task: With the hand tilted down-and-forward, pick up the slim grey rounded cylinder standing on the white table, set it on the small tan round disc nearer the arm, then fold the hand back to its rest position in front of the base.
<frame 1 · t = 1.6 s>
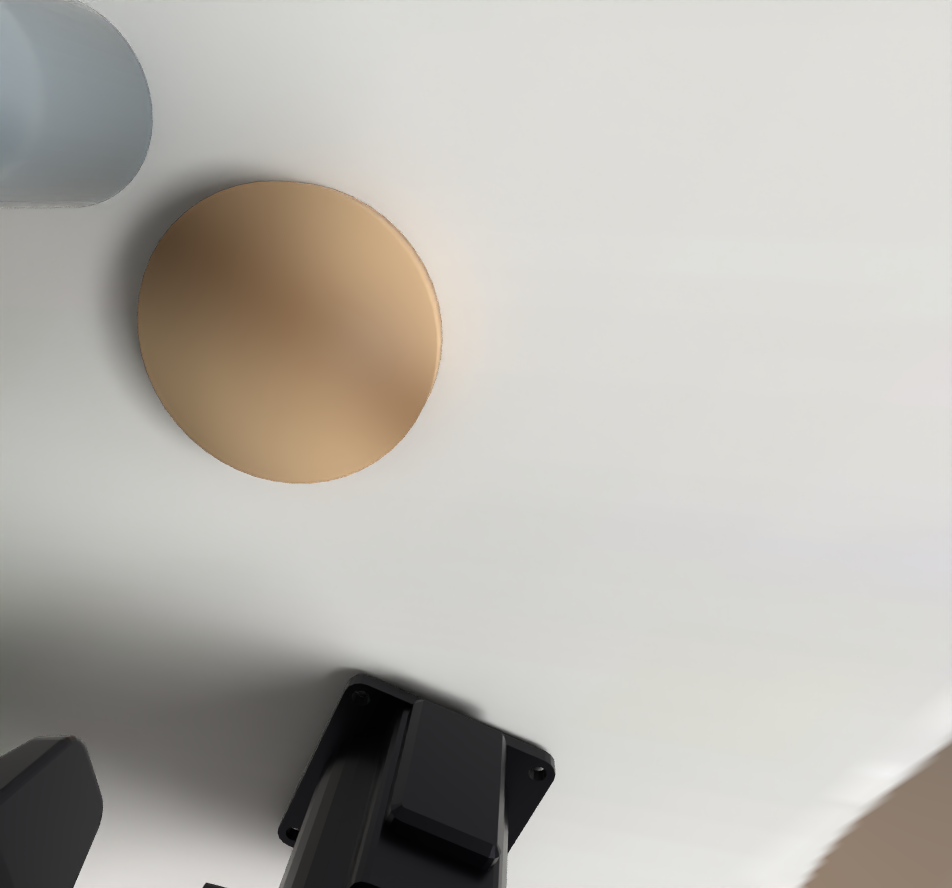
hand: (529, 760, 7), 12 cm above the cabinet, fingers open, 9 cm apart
tan round disc: (300, 333, 18), on the cabinet
grey rounded cylinder: (56, 104, 17), on the cabinet
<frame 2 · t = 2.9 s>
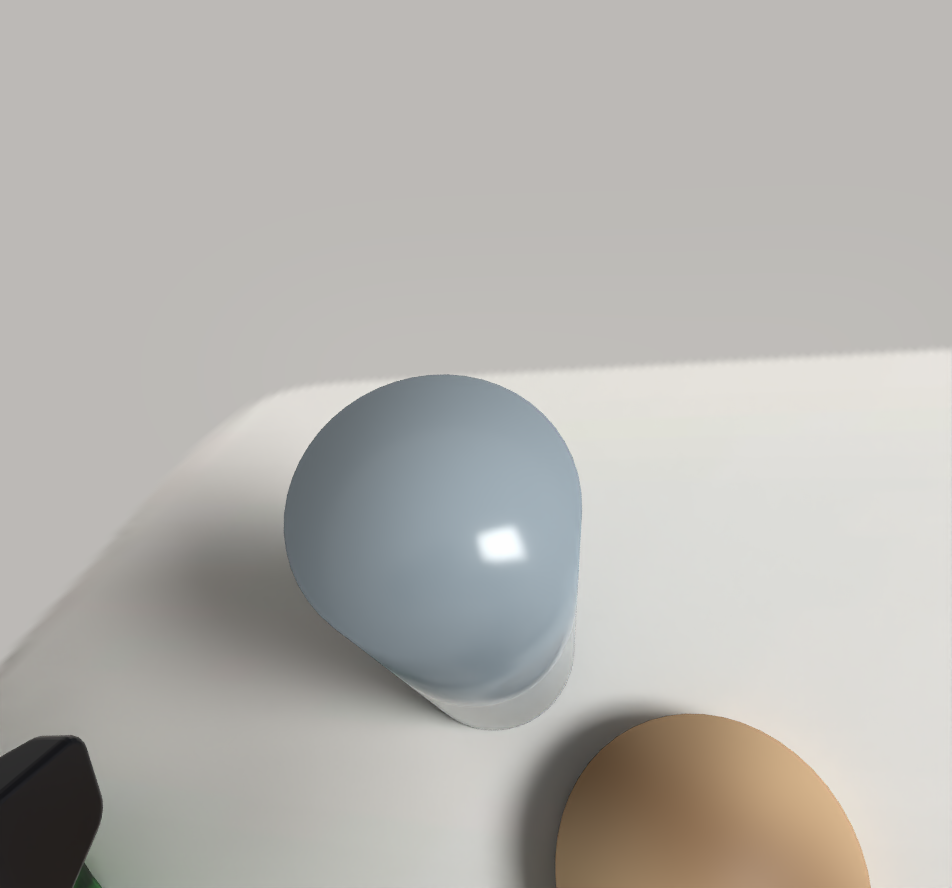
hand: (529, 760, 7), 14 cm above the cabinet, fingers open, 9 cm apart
tan round disc: (700, 871, 18), on the cabinet
grey rounded cylinder: (493, 645, 21), on the cabinet
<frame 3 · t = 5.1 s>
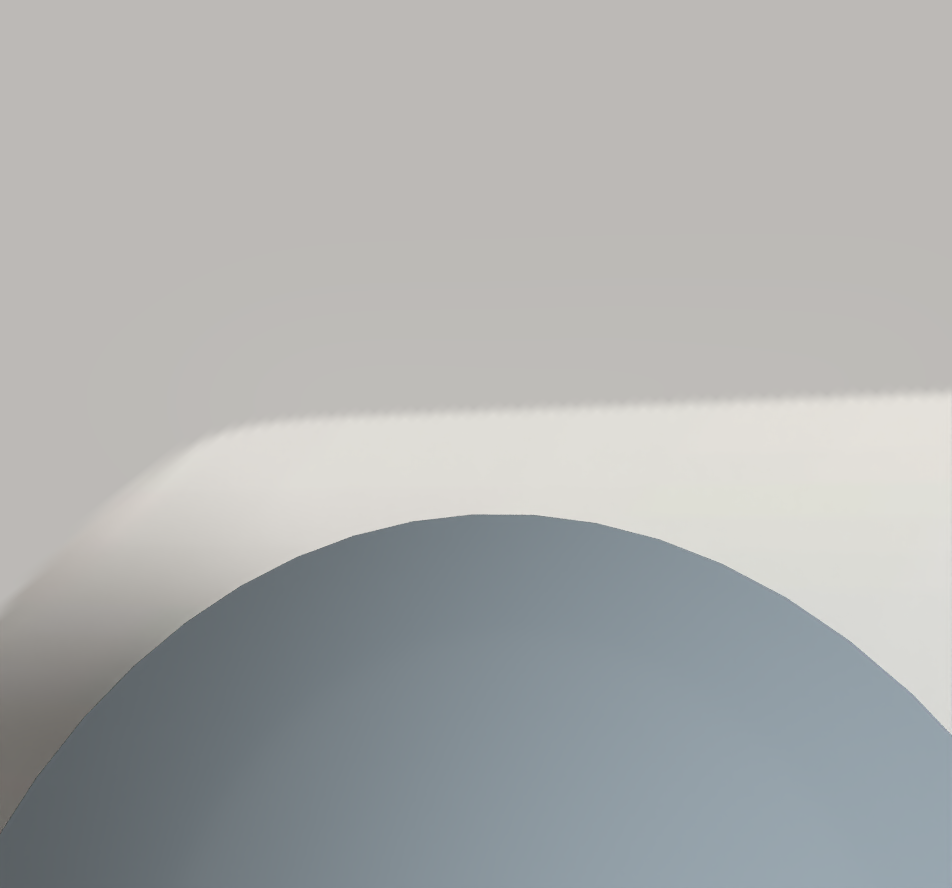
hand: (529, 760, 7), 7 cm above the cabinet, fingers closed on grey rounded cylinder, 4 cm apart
grey rounded cylinder: (554, 876, 12), on the cabinet, touching gripper
when the fingers open (9 cm above the cabinet, at t = 8.0 s): grey rounded cylinder stays where it is, resting on tan round disc.
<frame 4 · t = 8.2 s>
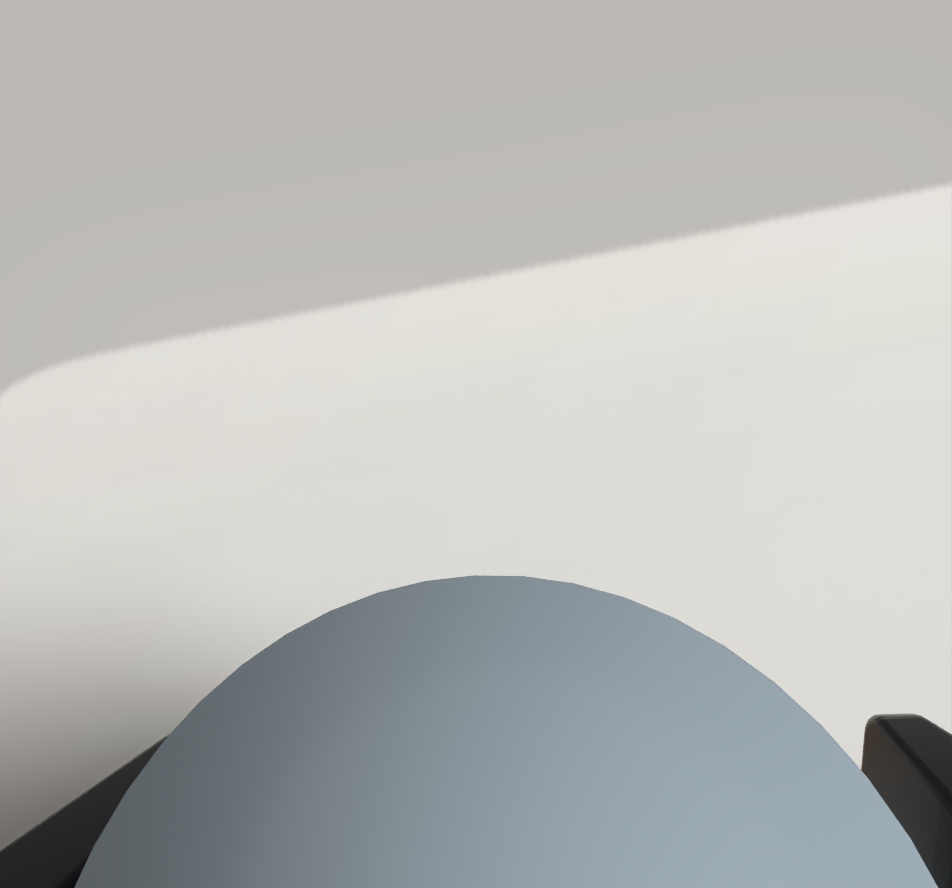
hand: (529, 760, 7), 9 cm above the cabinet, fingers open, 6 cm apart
grey rounded cylinder: (558, 876, 13), point 1 cm above the cabinet, touching tan round disc
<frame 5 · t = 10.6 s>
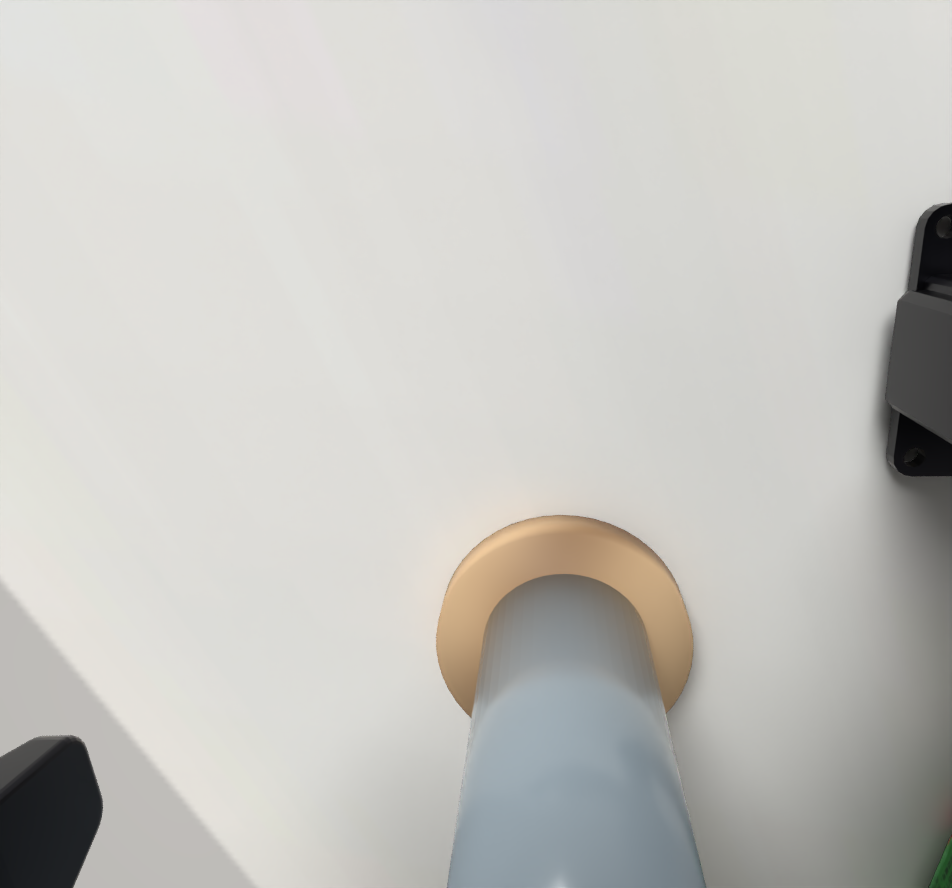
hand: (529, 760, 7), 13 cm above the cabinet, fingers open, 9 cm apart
tan round disc: (561, 626, 21), on the cabinet
grey rounded cylinder: (564, 647, 20), point 1 cm above the cabinet, touching tan round disc
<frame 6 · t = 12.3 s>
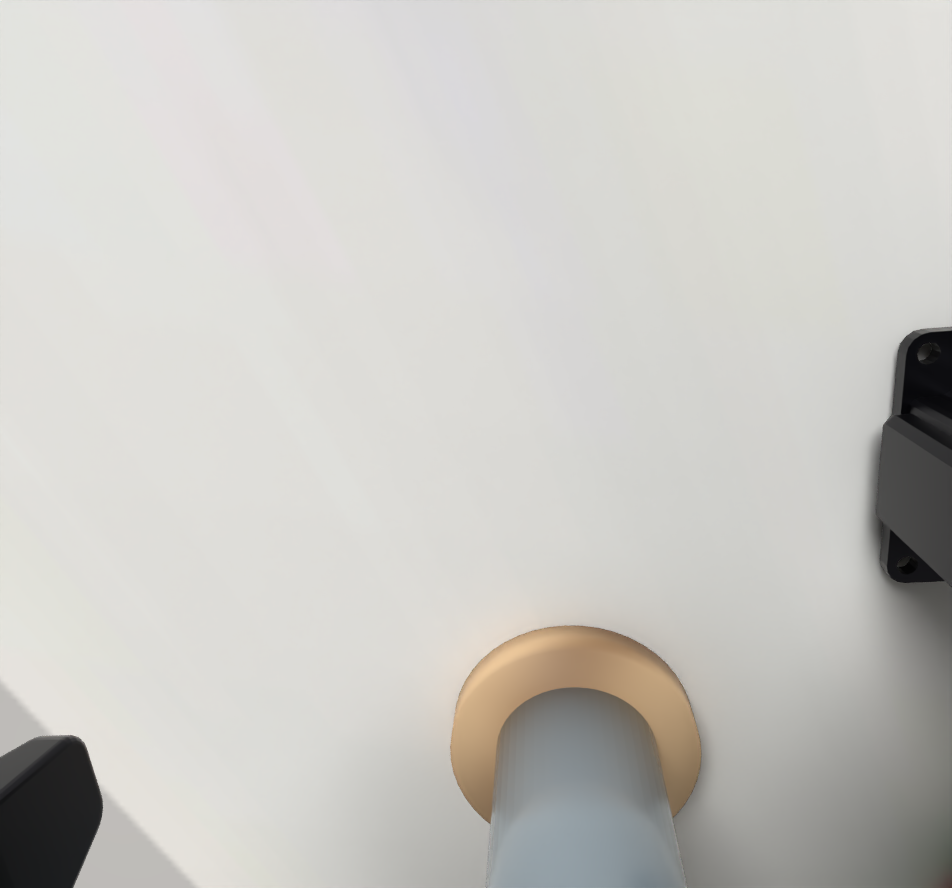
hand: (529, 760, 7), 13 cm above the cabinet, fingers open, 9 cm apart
tan round disc: (572, 728, 22), on the cabinet
grey rounded cylinder: (576, 754, 21), point 1 cm above the cabinet, touching tan round disc
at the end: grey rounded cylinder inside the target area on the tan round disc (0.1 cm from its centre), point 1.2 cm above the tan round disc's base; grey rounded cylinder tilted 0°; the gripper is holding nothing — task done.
